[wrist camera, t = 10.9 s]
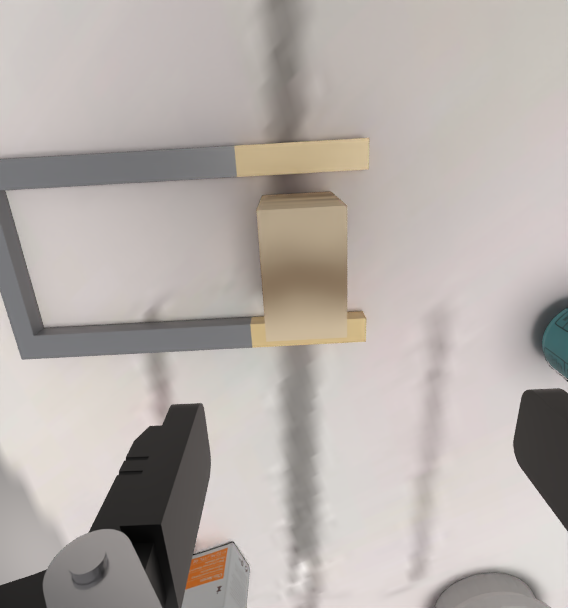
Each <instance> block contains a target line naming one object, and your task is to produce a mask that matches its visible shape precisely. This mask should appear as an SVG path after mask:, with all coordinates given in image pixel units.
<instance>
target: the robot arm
mask: <svg viewBox="0 0 568 608" xmlns="http://www.w3.org/2000/svg"><path fill="white" fill-rule="evenodd" d="M513 446H514V453H515V456H516V459H517V462H518V464H519V466H520V467H521V469H522V470H523V471H524V473H525V474H526V475H527V477H528V478H529V479H530V481H531V482H532V484H533V485H534V486H535V488H536V489H537V490H538V492H539V493H540V494H541V496H542V497H543V498H544V500H545V501H546V502H547V504H548V505H549V507H550V508H551V509H552V511H553V512H554V513H555V515H556V516H557V517H558V519H559V520H560V521H561V523H562V524H563V526H564V527H565V528H566V530H567V531H568V393H567V392H565V391H564V390H562V389H559V388H557V389H534V390H526V391H525V392H524V393H523V395H522V398H521V403H520V408H519V414H518V419H517V424H516V430H515V435H514V441H513ZM210 468H211V456H210V447H209V440H208V433H207V426H206V419H205V412H204V407H203V405H202V403H197V404H175V405H171V406H170V408H169V411H168V413H167V415H166V418H165V420H164V422H163V425H162V426H149V427H148V428H147V429H146V430H145V431H144V432H143V433H142V434H141V435H140V436H139V437H138V438H137V439H136V440H135V441H134V442H133V444H132V446H131V448H130V450H129V452H128V454H127V456H126V461H124V462H123V464H122V466H121V468H120V470H119V475H117V476H116V478H115V480H114V483H113V485H112V487H111V489H110V491H109V493H108V495H107V497H106V499H105V501H104V503H103V505H102V507H101V509H100V511H99V513H98V515H97V517H96V519H95V521H94V523H93V525H92V527H91V529H90V531H89V532H88V533H87V534H84V535H82V536H80V537H78V538H77V539H75V540H73V541H72V542H70V543H69V544H68V545H66V546H65V547H64V548H63V549H62V550H61V551H60V552H59V553H58V554H57V555H56V556H55V557H54V559H53V560H52V562H51V563H50V565H49V567H48V569H46V570H44V571H42V572H39V573H37V574H34V575H31V576H28V577H25V578H22V579H19V580H16V581H12V582H9V583H6V584H3V585H0V608H181V607H182V602H183V598H184V593H185V588H186V584H187V579H188V575H189V570H190V565H191V561H192V556H193V552H194V547H195V542H196V538H197V533H198V529H199V524H200V519H201V515H202V510H203V506H204V501H205V496H206V492H207V487H208V483H209V478H210Z"/></svg>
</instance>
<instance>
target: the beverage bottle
mask: <svg viewBox="0 0 568 608" xmlns="http://www.w3.org/2000/svg"><path fill="white" fill-rule="evenodd" d="M542 349H543V353H544V355H545V358H546V359H547V360H548V362H549V363H550V365H551V366H552V367H553V368H555V369H556V370H557V371H558V372H559V373H561V374H562V375H561V376H565V377H566V379H565V380H566V381H567V379H568V308H566V309H565V310H563V311H562V312H560V313H559V314H558V315H557V316H555V317H554V318H553V319H552V321H551V322H550V323H549V325H548V326H547V328H546V330H545V332H544V335H543V340H542ZM547 360H546V361H547ZM548 362H547V363H548ZM552 367H551V368H552ZM553 368H552V369H553ZM557 371H556V372H557ZM563 378H564V377H563Z"/></svg>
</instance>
